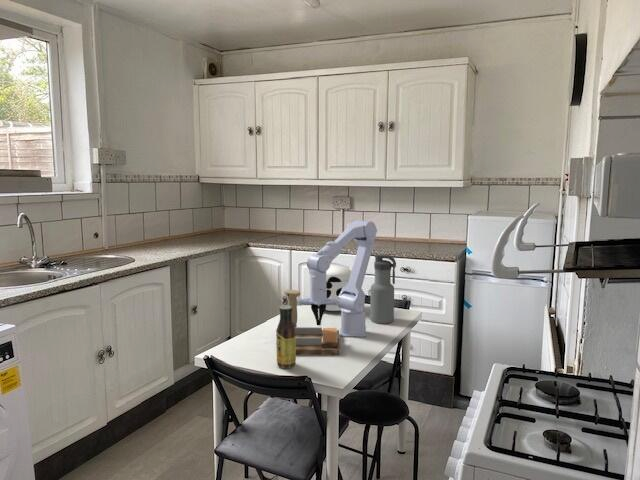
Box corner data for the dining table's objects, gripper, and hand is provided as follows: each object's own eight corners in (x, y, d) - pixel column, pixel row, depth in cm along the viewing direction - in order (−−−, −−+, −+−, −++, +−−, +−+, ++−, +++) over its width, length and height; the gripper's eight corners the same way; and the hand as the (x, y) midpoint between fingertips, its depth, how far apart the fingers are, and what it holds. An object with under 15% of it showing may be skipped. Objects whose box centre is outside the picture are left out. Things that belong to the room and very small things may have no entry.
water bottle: (394, 317, 206) (395, 253, 201) (395, 324, 196) (396, 257, 192) (370, 316, 207) (370, 252, 202) (370, 324, 197) (371, 257, 193)
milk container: (356, 305, 224) (356, 267, 221) (350, 316, 207) (350, 275, 205) (320, 303, 228) (320, 265, 225) (311, 313, 211) (311, 273, 209)
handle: (295, 331, 189) (295, 294, 186) (282, 328, 192) (282, 291, 190) (302, 327, 193) (302, 291, 190) (289, 324, 196) (289, 289, 194)
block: (336, 337, 176) (336, 327, 176) (336, 341, 171) (336, 332, 171) (322, 337, 176) (322, 327, 176) (322, 341, 171) (322, 332, 171)
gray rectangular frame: (321, 333, 180) (321, 327, 179) (321, 345, 168) (321, 338, 168) (285, 333, 180) (284, 327, 180) (281, 344, 169) (281, 338, 168)
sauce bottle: (276, 361, 159) (275, 303, 156) (295, 361, 159) (295, 303, 156) (276, 370, 152) (275, 309, 149) (296, 369, 153) (295, 309, 150)
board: (338, 335, 184) (338, 330, 184) (339, 355, 164) (339, 349, 164) (285, 334, 184) (285, 329, 184) (280, 354, 165) (280, 349, 164)
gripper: (297, 290, 167) (297, 328, 169) (339, 290, 167) (339, 328, 169) (298, 285, 174) (299, 321, 176) (338, 285, 174) (338, 321, 176)
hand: (318, 324), depth 173 cm, fingers closed
